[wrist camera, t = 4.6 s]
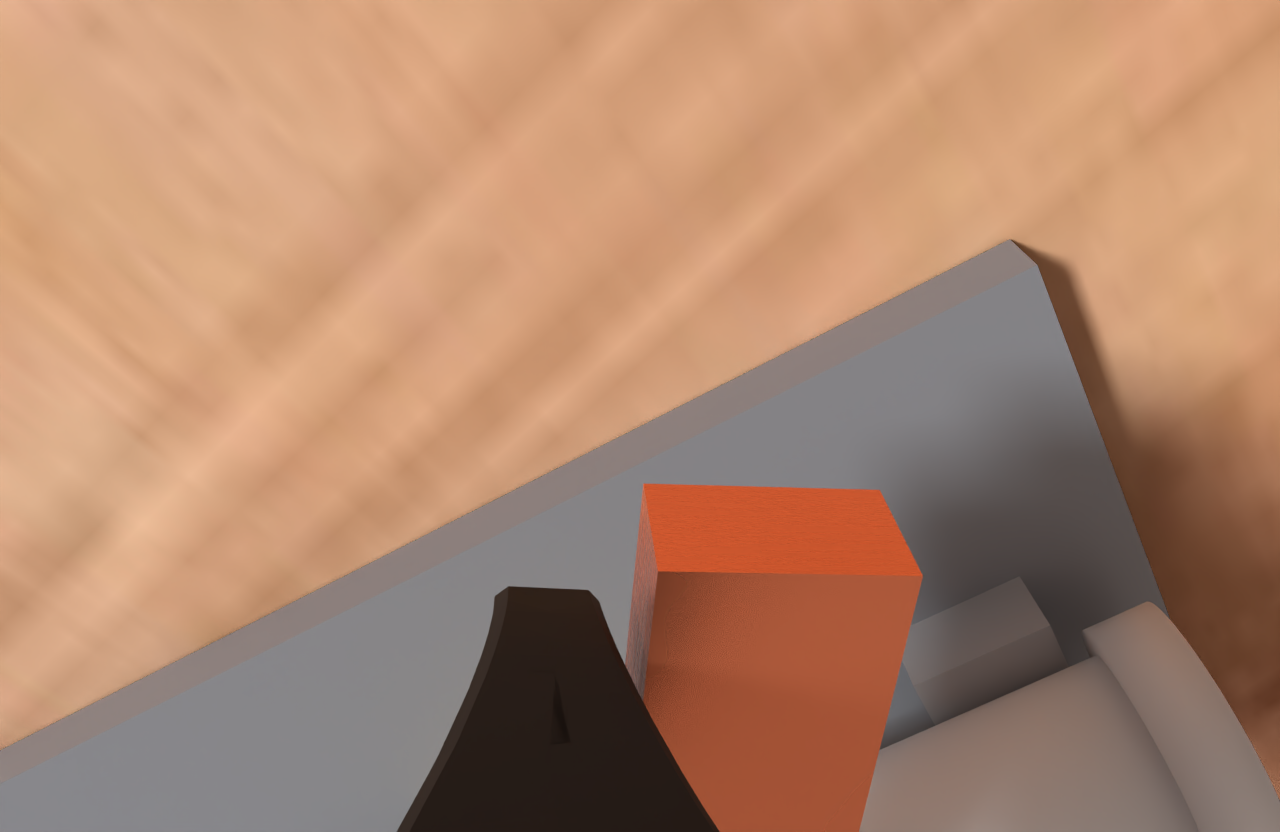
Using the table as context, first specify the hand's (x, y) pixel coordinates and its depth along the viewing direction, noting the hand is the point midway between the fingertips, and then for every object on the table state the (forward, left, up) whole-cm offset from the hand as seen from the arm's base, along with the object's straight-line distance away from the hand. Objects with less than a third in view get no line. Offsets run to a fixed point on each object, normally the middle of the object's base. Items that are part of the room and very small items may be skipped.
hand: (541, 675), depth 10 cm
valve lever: (-1, -4, 0) cm, 4 cm away
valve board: (-3, -8, -7) cm, 11 cm away
